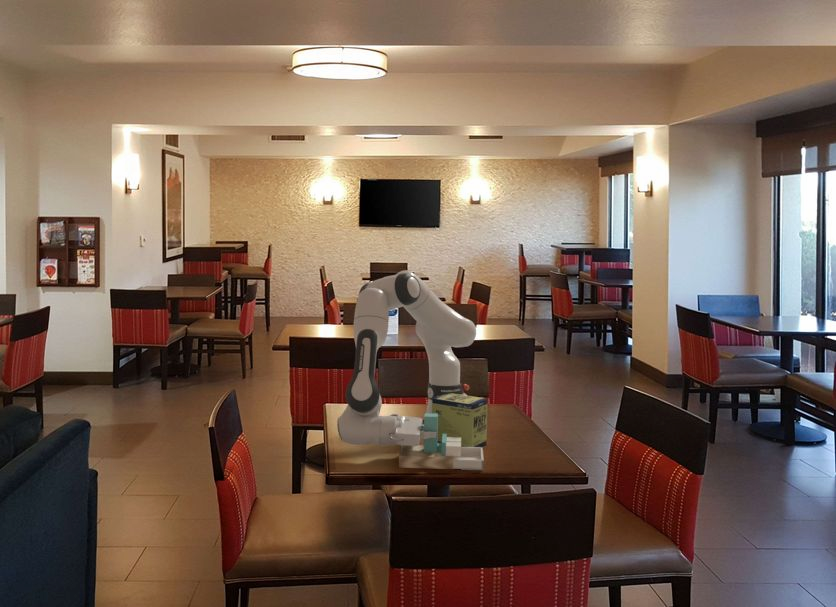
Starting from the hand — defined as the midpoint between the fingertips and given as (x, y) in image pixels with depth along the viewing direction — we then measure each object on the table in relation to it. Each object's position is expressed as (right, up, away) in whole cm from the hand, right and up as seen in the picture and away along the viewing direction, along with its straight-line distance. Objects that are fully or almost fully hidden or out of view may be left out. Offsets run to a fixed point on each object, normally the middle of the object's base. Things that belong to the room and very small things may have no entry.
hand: (436, 432), depth 254 cm
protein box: (+8, -7, +21) cm, 23 cm away
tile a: (+5, -6, +3) cm, 8 cm away
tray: (+10, -9, 0) cm, 13 cm away
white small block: (+5, -6, -3) cm, 8 cm away
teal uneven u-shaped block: (0, -6, +1) cm, 6 cm away
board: (-3, -9, +1) cm, 10 cm away
